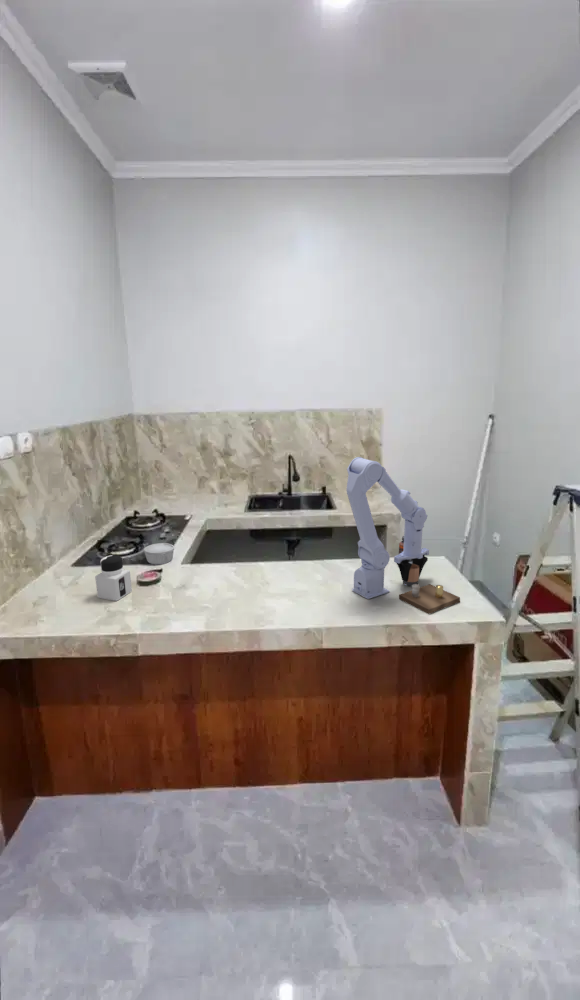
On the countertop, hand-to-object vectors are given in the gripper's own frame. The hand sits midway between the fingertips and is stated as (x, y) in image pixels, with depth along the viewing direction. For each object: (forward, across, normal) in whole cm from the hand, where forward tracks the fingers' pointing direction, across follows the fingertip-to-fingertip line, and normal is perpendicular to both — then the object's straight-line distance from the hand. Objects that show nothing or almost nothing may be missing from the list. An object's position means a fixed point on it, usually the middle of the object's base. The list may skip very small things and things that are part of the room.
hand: (410, 578), depth 160 cm
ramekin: (+2, -64, +70) cm, 94 cm away
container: (+2, -86, +48) cm, 98 cm away
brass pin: (+2, -3, -14) cm, 15 cm away
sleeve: (+2, 0, 0) cm, 2 cm away
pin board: (+2, -5, -12) cm, 14 cm away
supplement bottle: (+2, +10, +12) cm, 15 cm away
